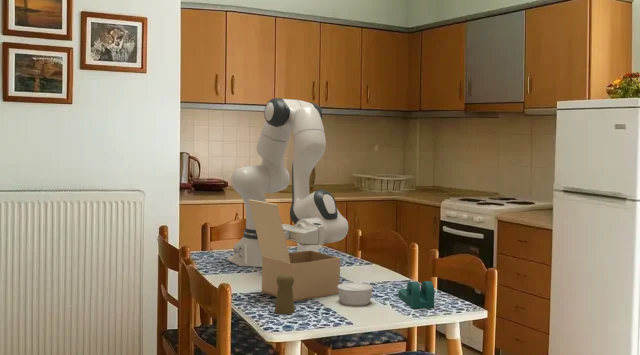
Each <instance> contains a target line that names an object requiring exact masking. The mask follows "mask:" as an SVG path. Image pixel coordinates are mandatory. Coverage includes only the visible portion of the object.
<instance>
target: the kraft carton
mask: <svg viewBox="0 0 640 355" xmlns="http://www.w3.org/2000/svg"><path fill="white" fill-rule="evenodd" d="M288 254H289V258H290V263H287V262H284V261H280V260H276V259H273V258H269V257H266V256H262V267H261V293H263V294H266V295H269V296H272V297H275V298H277V292H278V285H277V277H278V276H279V275H282V274H288V275H292V276H293V278H294V284H293V286H292V290H293V299H294V303H295V302H299V301H304V300H312V299H317V298H323V297H328V296H336V295H339V293H338V289H337V286H338V285H339V284H341V257H338V256H334V255H330V254H326V253H322V252H319V253H318V252H314V251H302V252H297V251H296V252H288Z"/></svg>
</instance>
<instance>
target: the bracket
mask: <svg viewBox="0 0 640 355" xmlns="http://www.w3.org/2000/svg"><path fill="white" fill-rule="evenodd" d="M398 298H399V299H400V300H402V301H403V302H404V303H405V304H406V305H407V306H408V307H409V308H411V309H412V310H421V309H420V308H434V309H435V287H434V283H433V282H432V281H429V280H427V281H426V280H425V281H424V280H423V281H422V282H421V284H420V283H419V282H418V281H414V280H413V281H408V282H407V283H406V288H400V289H398Z"/></svg>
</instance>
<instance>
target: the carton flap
mask: <svg viewBox="0 0 640 355" xmlns="http://www.w3.org/2000/svg"><path fill="white" fill-rule="evenodd" d="M249 202H250V207H251V211H252V216H253V220H254V224H255V229H256V233H257V237H258V242H259V246H260V250H261V255H262V256H266V257H269V258H273V259H276V260H280V261H284V262H287V263H290V258H289V254H288V253H289V250H288V245H287V241H286V240H285V236H284V231H283V227H282V224H283V223H282V218H281V214H280V209H279V205H278V203H272V202H267V201H266V202H262V201H256V200H249Z"/></svg>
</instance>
